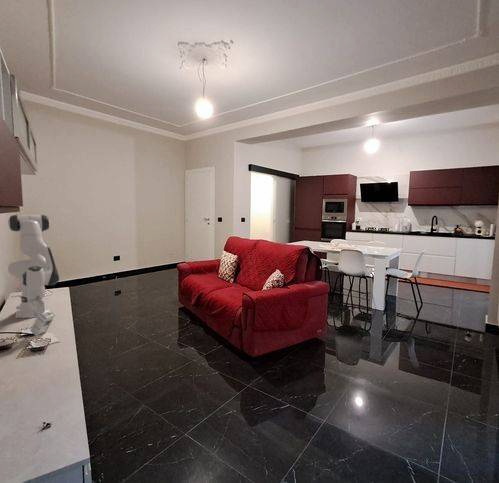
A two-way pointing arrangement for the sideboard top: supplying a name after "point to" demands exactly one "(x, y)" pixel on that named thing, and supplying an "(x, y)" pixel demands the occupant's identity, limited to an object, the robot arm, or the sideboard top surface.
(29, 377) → the sideboard top surface
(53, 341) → the mat
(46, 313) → the syrup box
